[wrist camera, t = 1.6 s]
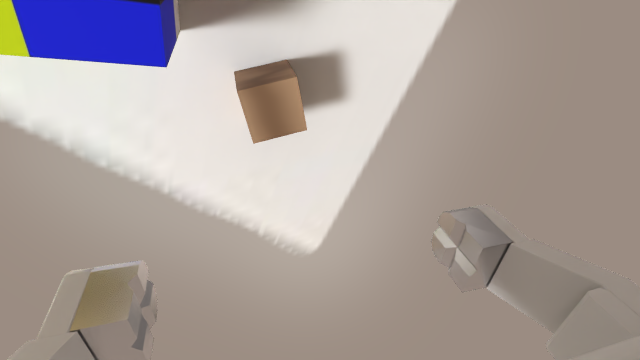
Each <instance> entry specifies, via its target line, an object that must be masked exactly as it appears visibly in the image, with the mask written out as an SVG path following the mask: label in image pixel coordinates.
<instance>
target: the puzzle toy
mask: <svg viewBox="0 0 640 360" xmlns="http://www.w3.org/2000/svg"><path fill="white" fill-rule="evenodd" d="M179 33H180V22H179V9H178V0H0V54H1V55H14V56H27V57H40V58H53V59H66V60H79V61H92V62H105V63H117V64H130V65H143V66H156V67H167V65H168V62H169V59H170V57H171V54H172V51H173V49H174V46H175V43H176V41H177V38H178V35H179Z"/></svg>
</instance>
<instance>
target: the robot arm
mask: <svg viewBox="0 0 640 360" xmlns="http://www.w3.org/2000/svg"><path fill="white" fill-rule="evenodd" d="M437 222H438V224H439V226H440V227H439V228H438V229H437V230H436V231H435V232H434V233H433V237H432V241H431V243H432V250H433V253H434V255H435V257H436V258H437V260H438V261H439V262H440V263H441V264H443V265H445V266H447V267H448V268H449V276H450V277H451V278H452V280H453V281H454V282H455V284H456V285H457V286H458V288H459V289H460V290H461V292H467V291H472V290H476V289H481V288H486V287H488V290H489V291H491V292H493V293H494V294H496V295H497V296H498V297H500V298H502V299H503V300H504V301H506V302H507V303H509V304H510V305H512V306H513V307H515V308H516V309H518V310H519V311H521V312H523V313H524V314H525V315H527V316H528V317H530V318H531V319H533V320H534V321H536V322H537V323H539V324H541V325H542V326H543V327H545V328H546V329H548V330H549V331H551V332H553V333H554V334H553V336H552V337H551V338H550V339H549V341H548V342H547V344H546V349H547V350H548V352H549V353H550V354H551V355H552V356H553V358H554V359H555V360H640V287H639V286H638V285H636V284H635V283H634V282H632V281H631V280H630V279H628V278H626V277H623V276H621V275H619V274H616V273H614V272H611V271H609V270H607V269H604V268H602V267H600V266H597V265H595V264H593V263H590V262H588V261H585V260H583V259H581V258H578V257H576V256H573V255H571V254H569V253H566V252H564V251H561V250H559V249H557V248H554V247H552V246H550V245H547V244H545V243H543V242H540V241H538V240H535V239H531V240H530V239H529V238H527V237H526V236H525V235H524V234H523V233H522V232H521V231H519V230H518V229H517V228H516V227H515V226H514V225H513V224H511V223H510V222H509V221H508V220H507V219H506V218H505V217H503V215H501V214H500V213H499V212H498V211H497V210H496V209H495V208H493V207H492V206H490V205H487V204H486V205H480V206H474V207H469V208H463V209H457V210H451V211H445V212H443V213H442V214H441V215H440V216H439V219H438V221H437ZM148 273H149V270H148V268H147V265H146V263H145V261H135V262H129V263H121V264H114V265H106V266H99V267H95V268H88V269H81V270H74V271H69V272H68V273H67V274H66V275H65V276H64V277H63V279H62V282H61V284H60V286H59V288H58V291H57V293H56V295H55V297H54V300H53V302H52V304H51V307H50V309H49V311H48V313H47V316H46V318H45V320H44V322H43V325H42V327H41V329H40V332H39V334H38V336H37V338H36V339H35V340H30V341H27V342H26V343H25V344H24V345H23V346H22V347H20V348H19V349H18V350H17V351H16V352H15V353H14V354H12V355H11V356H10V357H9V358H8V359H7V360H151V356H152V348H153V341H154V338H153V336H152V333H151V331H150V328H151V327H152V326H153V325H154V323H155V322H156V317H157V296H156V290H155V287H154V284H153V283H152V282H150V281H148V280H147V278H148Z"/></svg>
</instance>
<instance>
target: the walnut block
mask: <svg viewBox="0 0 640 360" xmlns="http://www.w3.org/2000/svg"><path fill="white" fill-rule="evenodd" d="M234 74H235V81H236V88H237V93H238V96H239V99H240V102H241V105H242V109H243V112H244V115H245V118H246V121H247V124H248V128H249V131H250V134H251V137H252V140H253V144H254V143H258V142H262V141H266V140H270V139H273V138H277V137H281V136H285V135H289V134H293V133H297V132H301V131H305V130H307V127H306V121H305V116H304V111H303V105H302V100H301V95H300V90H299V84H298V79H297V76H296V74H295V73H294V71H293V69H292V68H291V66H290V64H289V63H288V61H287V60H283V61H279V62H275V63H270V64H266V65H262V66H257V67H253V68H249V69H244V70H240V71H235V72H234Z"/></svg>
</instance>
